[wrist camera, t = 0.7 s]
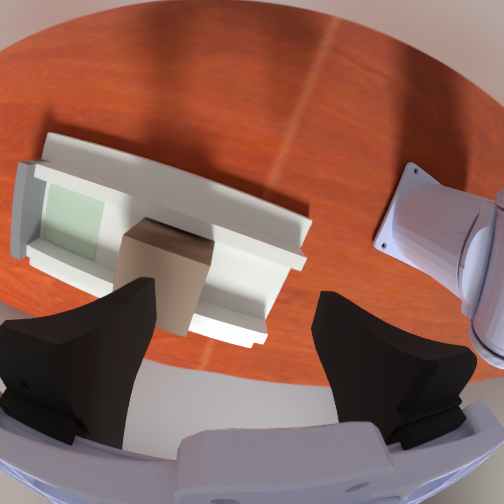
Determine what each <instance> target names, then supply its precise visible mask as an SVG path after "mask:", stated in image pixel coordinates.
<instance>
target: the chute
mask: <svg viewBox="0 0 504 504" xmlns="http://www.w3.org/2000/svg"><path fill="white" fill-rule="evenodd" d="M145 217H148V218H151V219H154V220H156V221H159V222H162V223H165V224H168V225H171V226H173V227H176V228H179V229H182V230H185V231H188V232H190V233H193V234H196V235H199V236H202V237H205V238H207V239H210V240H213V241H215V245H214V250H213V256H212V261H211V267H210V269H209V272H208V275H207V278H206V280H205V283H204V286H203V289H202V291H201V294H200V297H199V300H198V303H197V306H196V308H195V311H194V314H193V317H192V320H191V323H190V326H189V329H188V330H189V331H192V332H195V333H198V334H202V335H205V336H208V337H212V338H215V339H219V340H222V341H226V342H229V343H233V344H237V345H240V346H244V347H248V348H251V346H252V344H253V343H254V342H256V343H260V344H263V343H264V341H265V339H266V338H267V336H268V332H267V327H266V322H265V319H266V317H267V315H268V313H269V311H270V309H271V307H272V305H273V303H274V301H275V299H276V297H277V295H278V293H279V291H280V289H281V287H282V285H283V283H284V281H285V279H286V277H287V275H288V273H289V271H290V269H291V268H293V269H296V270H299V271H301V270H302V268H303V266H304V264H305V262H306V259H307V257H306V256H305V255H304V253H303V252H302V250H301V249H300V247H301V245H302V243H303V241H304V239H305V237H306V235H307V232H308V230H309V228H310V226H311V224H312V220H311V219H310V218H308V217H305V216H303V215H301V214H298V213H296V212H293V211H291V210H289V209H286V208H284V207H281V206H279V205H276V204H274V203H271V202H269V201H266V200H263V199H261V198H258V197H256V196H253V195H251V194H248V193H245V192H243V191H240V190H237V189H235V188H232V187H229V186H227V185H224V184H221V183H218V182H216V181H213V180H210V179H207V178H204V177H201V176H199V175H196V174H193V173H190V172H187V171H184V170H181V169H178V168H175V167H172V166H169V165H166V164H163V163H160V162H157V161H154V160H151V159H147V158H144V157H141V156H138V155H134V154H131V153H128V152H124V151H121V150H118V149H114V148H111V147H107V146H104V145H100V144H97V143H93V142H89V141H86V140H82V139H78V138H74V137H70V136H66V135H62V134H58V133H51V132H48V134H47V138H46V141H45V145H44V149H43V154H42V158H41V159H35V160H28V161H21V162H19V163H18V168H17V174H16V181H15V188H14V197H13V207H12V220H11V256H13V257H15V258H16V259H18V260H21V259H22V258H24V257H25V256H28V257H30V265H31V266H33V267H35V268H37V269H39V270H41V271H43V272H45V273H47V274H49V275H51V276H53V277H55V278H57V279H59V280H61V281H63V282H65V283H68V284H70V285H72V286H74V287H76V288H78V289H81V290H83V291H85V292H87V293H90V294H92V295H94V296H97V297H99V298H101V297H103V296H105V295H107V294H109V293H111V292H112V290H113V283H114V277H115V271H116V266H117V260H118V255H119V250H120V245H121V241H122V236H123V234H125V233H126V232H127V231H128V230H129V229H131V228H132V227H133V226H134V225H136V224H137V223H138V222H140V221H141V220H142V219H143V218H145Z"/></svg>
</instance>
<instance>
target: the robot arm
mask: <svg viewBox="0 0 504 504" xmlns="http://www.w3.org/2000/svg"><path fill="white" fill-rule="evenodd" d="M414 169H416V173H414ZM383 243H384V246H383V247H381V246H382V244H383ZM373 246H374V247H375V248H376V249H378V250H380V251H382V252H384V253H386V254H388V255H391V256H393V257H395V258H397V259H399V260H401V261H403V262H405V263H407V264H409V265H411V266H413V267H415V268H417V269H419V270H421V271H423V272H425V273H427V274H429V275H430V276H431V277H433V278H434V279H435V280H437V281H438V282H439V283H441V284H442V285H443V286H445V287H446V288H447V289H448V290H450V291H451V292H452V293H454V294H455V295H456V296H457V297H459V298H460V299H461V300H462V308H461V312H462V313H463V314H464V315H465V316H467V317H468V318H469V319H470V323H469V327H468V335H469V339H470V341H471V343H472V345H473V347H474V348H475V350H476V351H477V352H478V353H479V355H480V356H481V357H482V358H483V359H484V360H485V361H487V362H488V363H489V364H491V365H493V366H495V367H497V368H500V369H504V188H503V189H502V190H501V191H499V192H497V193H496V197H495V201H493V200H490V199H487V198H483V197H480V196H477V195H474V194H470V193H467V192H464V191H460V190H456V189H453V188H449V187H445V186H443V185H441V184H440V183H439V182H438V181H436V180H435V179H434V178H433V177H431V176H430V175H429V174H428V173H426V172H425V171H424V170H422V169H421V168H420V167H418V166H417V165H416V164H414V163H412V162H409V163H407V165H406V167H405V169H404V172H403V175H402V177H401V180H400V182H399V185H398V187H397V190H396V192H395V194H394V197H393V199H392V201H391V204H390V206H389V208H388V211H387V213H386V215H385V217H384V220H383V222H382V224H381V226H380V228H379V230H378V233H377V235H376V237H375V239H374V241H373ZM156 320H157V311H156V294H155V278H149V277H139V278H137V279H135V280H133V281H131V282H129V283H128V284H126V285H124V286H122V287H121V288H119V289H117V290H115V291H113V292H111V293H109V294H107V295H105V296H103V297H101V298H99V299H97V300H95V301H93V302H91V303H89V304H86V305H84V306H81V307H78V308H75V309H72V310H69V311H65V312H62V313H58V314H54V315H50V316H45V317H38V318H32V319H18V320H6V321H4V322H3V323H2V325H0V377H1V379H2V380H3V383H4V384H5V386H6V388H7V389H6V390H5V391H4V393H3V394H2V392H1V391H0V470H2V471H3V472H5V473H6V474H7V475H9V476H10V477H12V478H13V479H15V480H16V481H18V482H19V483H21V484H22V485H24V486H25V487H27V488H29V489H30V490H32V491H34V492H35V493H37V494H39V495H41V496H42V497H44V498H46V499H48V500H50V501H51V502H53V503H55V504H417V503H419V502H421V501H423V500H425V499H427V498H429V497H431V496H432V495H434V494H436V493H438V492H439V491H441V490H443V489H445V488H446V487H448V486H449V485H451V484H453V483H454V482H456V481H457V480H459V479H461V478H462V477H464V476H465V475H467V474H468V473H470V472H471V471H472V470H474V469H475V468H476V467H477V466H478V465H480V464H481V463H482V462H483V461H484V460H485V459H486V458H487V457H489V456H490V455H491V454H492V453H493V452H494V451H495V450H496V449H497V448H498V447H499V446H500V445H501V444H502V443H503V442H504V428H503V427H502V425H501V424H500V422H499V421H498V419H497V418H496V417H495V415H494V414H493V413H492V411H491V410H490V408H489V407H488V406H487V404H486V403H485V402H484V401H483V399H481V400H479V401H477V402H475V403H473V404H471V405H469V406H467V407H466V408H464V409H463V410H461V408H460V407H459V406H458V405H460V404H461V403H462V400H461V398H460V397H459V394H460V393H461V391H462V390H463V389H464V387H465V386H466V384H467V383H468V381H469V380H470V378H471V377H472V375H473V373H474V371H475V368H476V365H477V357H476V355H475V354H474V353H473V352H472V351H471V350H470V349H469V348H468V347H466V346H460V345H453V344H446V343H441V342H437V341H433V340H429V339H426V338H422V337H419V336H417V335H414V334H411V333H408V332H406V331H403V330H401V329H399V328H397V327H394V326H392V325H390V324H388V323H386V322H384V321H383V320H381V319H379V318H377V317H375V316H374V315H372V314H370V313H369V312H367V311H365V310H364V309H362V308H361V307H359V306H357V305H356V304H354V303H353V302H351V301H350V300H348V299H346V298H345V297H343V296H341V295H340V294H338V293H336V292H333V291H321V293H320V297H319V301H318V305H317V309H316V312H315V316H314V320H313V323H312V327H311V331H312V336H313V340H314V344H315V348H316V350H317V353H318V356H319V358H320V361H321V363H322V366H323V368H324V371H325V373H326V376H327V378H328V381H329V383H330V386H331V389H332V392H333V397H334V401H335V405H336V409H337V414H338V420H339V423H336V424H329V425H319V426H310V427H298V428H276V429H235V428H234V429H233V428H230V429H219V430H218V429H217V430H205V431H202V432H199V433H197V434H194V435H192V436H189V437H186V438H184V439H183V440H182V442H181V444H180V446H179V448H178V452H177V460H170V459H164V458H158V457H152V456H147V455H142V454H138V453H133V452H128V451H125V450H122V444H123V436H124V429H125V422H126V417H127V411H128V406H129V401H130V397H131V393H132V389H133V384H134V381H135V378H136V375H137V372H138V370H139V367H140V365H141V362H142V360H143V358H144V355H145V353H146V350H147V348H148V346H149V343H150V341H151V338H152V336H153V332H154V328H155V324H156Z"/></svg>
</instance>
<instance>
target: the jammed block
mask: <svg viewBox="0 0 504 504" xmlns="http://www.w3.org/2000/svg"><path fill="white" fill-rule="evenodd" d="M214 245H215V241H213V240H210V239H207V238H205V237H202V236H199V235H196V234H193V233H190V232H188V231H185V230H182V229H179V228H176V227H173V226H171V225H168V224H165V223H162V222H159V221H156V220H154V219H151V218H148V217H145V218H143V219H142V220H141V221H140V222H138V223H137V224H136V225H134V226H133V227H132V228H131V229H129V230H128V231H127V232H126V233H125V234H123V236H122V241H121V245H120V250H119V255H118V260H117V266H116V271H115V277H114V283H113V290H112V292H113V291H115V290H117V289H119V288H121V287H122V286H124V285H126V284H128V283H129V282H131V281H133V280H135V279H137V278H139V277H149V278H155V294H156V311H157V320H156V324H155V327H156V328H159V329H162V330H165V331H168V332H171V333H174V334H177V335H180V336H183V337H186V335H187V332H188V329H189V326H190V323H191V320H192V317H193V314H194V311H195V308H196V306H197V303H198V300H199V297H200V294H201V291H202V289H203V286H204V283H205V280H206V278H207V275H208V272H209V269H210V267H211V261H212V256H213V250H214Z"/></svg>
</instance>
